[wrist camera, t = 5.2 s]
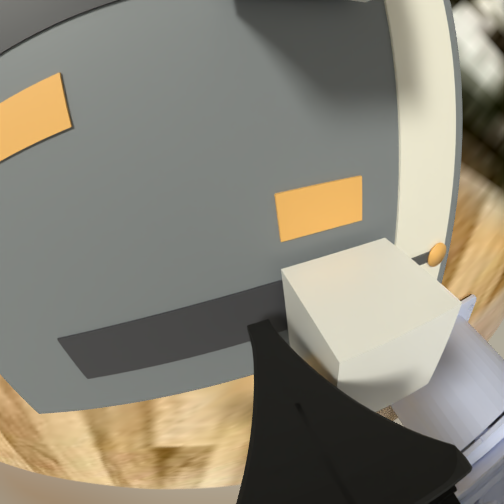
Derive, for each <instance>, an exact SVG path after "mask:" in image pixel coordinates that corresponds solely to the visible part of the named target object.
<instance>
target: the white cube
mask: <svg viewBox="0 0 504 504" xmlns="http://www.w3.org/2000/svg"><path fill="white" fill-rule="evenodd" d="M281 274H282V282H283V290H284V298H285V307H286V316H287V324H288V333H289V342H290V347H291V348H292V349H293V350H294V351H295V352H296V353H297V354H298V355H299V356H300V357H301V358H302V359H303V360H305V361H306V362H307V363H308V364H309V365H310V366H311V367H312V368H313V369H314V370H316V371H317V372H318V373H319V374H320V375H322V376H323V377H324V378H325V379H327V380H328V381H329V382H330V383H332V384H333V385H334V386H336V387H337V388H338V389H340V390H341V391H342V392H344V393H345V394H347V395H348V396H350V397H351V398H353V399H354V400H356V401H357V402H359V403H360V404H362V405H364V406H365V407H367V408H369V409H370V410H372V411H374V412H378V411H380V410H382V409H384V408H386V407H388V406H389V405H391V404H393V403H395V402H397V401H399V400H401V399H402V398H404V397H406V396H408V395H410V394H411V393H413V392H415V391H417V390H418V389H420V388H422V387H423V386H425V385H427V384H428V383H429V381H430V379H431V377H432V375H433V373H434V371H435V368H436V366H437V364H438V362H439V360H440V358H441V355H442V353H443V351H444V348H445V346H446V344H447V341H448V339H449V336H450V334H451V331H452V329H453V326H454V324H455V321H456V318H457V316H458V313H459V310H460V307H461V304H462V302H461V301H460V300H459V299H457V298H456V297H455V296H454V295H453V294H452V293H451V292H450V291H449V290H447V289H446V288H445V287H444V286H443V285H442V284H441V283H439V282H438V281H437V280H436V279H435V278H434V277H433V276H431V275H430V274H429V273H428V272H427V271H425V270H424V269H423V268H422V267H421V266H420V265H418V264H417V263H416V262H415V261H414V260H412V259H411V258H410V257H409V256H407V255H406V254H405V253H404V252H402V251H401V250H400V249H399V248H398V247H396V246H395V245H394V244H392V243H391V242H390V241H389V240H387V239H386V238H382V239H379V240H376V241H373V242H369V243H366V244H363V245H360V246H356V247H353V248H350V249H347V250H343V251H340V252H337V253H334V254H330V255H327V256H324V257H320V258H317V259H314V260H310V261H307V262H303V263H300V264H297V265H293V266H290V267H286V268H283V269H281Z"/></svg>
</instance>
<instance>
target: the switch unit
mask: <svg viewBox="0 0 504 504" xmlns="http://www.w3.org/2000/svg"><path fill="white" fill-rule="evenodd" d="M461 151H462V88H461V73H460V62H459V53H458V45H457V37H456V31H455V25H454V19H453V14H452V9H451V4H450V0H371V1H367V2H359V1H352V0H0V374H1V375H2V377H3V378H4V379H5V380H6V381H7V382H8V383H9V384H10V385H11V386H12V387H13V389H14V390H15V391H16V392H17V393H18V394H19V395H20V396H21V397H22V398H23V399H24V400H25V401H26V402H27V403H28V404H29V405H30V406H31V407H32V408H33V409H35V410H36V411H37V412H38V413H39V414H42V413H56V412H68V411H77V410H86V409H94V408H102V407H109V406H116V405H122V404H128V403H134V402H140V401H146V400H151V399H156V398H161V397H166V396H171V395H175V394H180V393H184V392H189V391H193V390H197V389H201V388H205V387H209V386H213V385H217V384H221V383H225V382H228V381H232V380H236V379H239V378H243V377H246V376H250V375H253V374H254V364H253V352H252V346H251V342H250V338H249V334H248V330H247V325H250V324H253V323H257V322H260V321H263V320H267V319H269V321H270V322H271V324H272V326H273V327H274V329H275V330H276V331H277V332H278V334H279V335H280V336H281V337H282V338H283V339H284V340H285V342H286V343H287V344H288V345H289V346H290V342H289V333H288V324H287V316H286V307H285V298H284V290H283V282H282V274H281V269H283V268H286V267H290V266H293V265H297V264H300V263H303V262H307V261H310V260H314V259H317V258H320V257H324V256H327V255H330V254H334V253H337V252H340V251H343V250H347V249H350V248H353V247H356V246H360V245H363V244H366V243H369V242H373V241H376V240H379V239H382V238H386V239H387V240H389V241H390V242H391V243H392V244H394V245H395V246H396V247H398V248H399V249H400V250H401V251H402V252H404V253H405V254H406V255H407V256H409V257H410V258H411V259H412V260H414V261H415V262H416V263H417V264H418V265H420V266H421V267H422V268H423V269H424V270H425V271H427V272H428V273H429V274H430V275H431V276H433V277H434V278H435V279H436V280H437V281H438V282H439V283H442V279H443V274H444V270H445V266H446V261H447V257H448V252H449V247H450V242H451V237H452V231H453V225H454V219H455V212H456V205H457V197H458V188H459V179H460V167H461Z"/></svg>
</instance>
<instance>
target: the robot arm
mask: <svg viewBox="0 0 504 504" xmlns="http://www.w3.org/2000/svg"><path fill="white" fill-rule="evenodd" d="M461 302H462V304H461V307H460V310H459V313H458V316H457V318H456V321H455V324H454V326H453V329H452V331H451V334H450V336H449V339H448V341H447V344H446V346H445V348H444V351H443V353H442V355H441V358H440V360H439V362H438V364H437V366H436V368H435V371H434V373H433V375H432V377H431V379H430V381H429V383H428V384H427V385H425V386H423V387H422V388H420V389H418V390H417V391H415V392H413V393H411V394H410V395H408V396H406V397H404V398H402V399H401V400H399V401H397V402H395V403H393V404H391V405H390V406H391V407H392V409H393V410H394V412H395V413H396V415H397V416H398V418H399V419H400V421H401V422H402V424H403V425H404V427H403V426H401V425H399V424H397V423H395V422H393V421H391V420H389V419H387V418H385V417H383V416H381V415H379V414H378V413H376V412H374V411H372V410H370V409H369V408H367V407H365V406H364V405H362V404H360V403H359V402H357V401H356V400H354V399H353V398H351V397H350V396H348V395H347V394H345V393H344V392H342V391H341V390H340V389H338V388H337V387H336V386H334V385H333V384H332V383H330V382H329V381H328V380H327V379H325V378H324V377H323V376H322V375H320V374H319V373H318V372H317V371H316V370H314V369H313V368H312V367H311V366H310V365H309V364H308V363H307V362H306V361H305V360H303V359H302V358H301V357H300V356H299V355H298V354H297V353H296V352H295V351H294V350H293V349H292V348H291V347H290V346H289V345H288V344H287V343H286V342H285V340H284V339H283V338H282V337H281V336H280V335H279V334H278V332H277V331H276V330H275V329H274V327H273V326H272V324H271V322H270V321H269V319H267V320H263V321H260V322H257V323H253V324H250V325H247V330H248V334H249V338H250V342H251V346H252V352H253V364H254V400H253V417H252V427H251V435H250V442H249V449H248V455H247V461H246V466H245V471H244V475H243V479H242V483H241V487H240V491H239V495H238V499H237V503H236V504H504V359H503V358H502V357H501V356H500V355H499V354H498V353H497V352H496V351H495V350H494V349H493V348H492V346H491V345H490V344H489V343H488V342H487V341H486V340H485V339H484V338H483V337H482V336H481V335H480V334H479V333H478V332H477V331H476V330H475V329H474V328H473V327H472V326H471V325H470V324H469V323H468V320H469V318H470V315H471V313H472V310H473V307H474V305H475V302H476V296H474V295H470V296H469V297H467V298H465V299H464V300H462V301H461Z"/></svg>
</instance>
